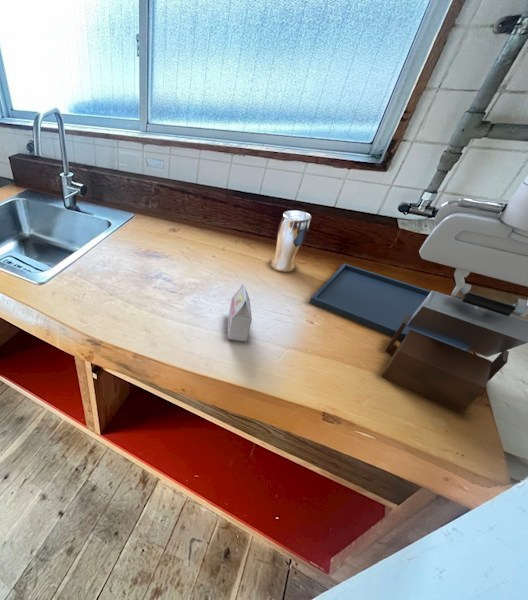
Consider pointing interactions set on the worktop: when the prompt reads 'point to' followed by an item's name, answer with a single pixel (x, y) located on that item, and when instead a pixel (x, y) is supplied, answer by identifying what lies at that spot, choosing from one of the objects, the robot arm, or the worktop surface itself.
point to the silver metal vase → (290, 239)
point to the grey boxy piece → (239, 316)
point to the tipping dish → (471, 322)
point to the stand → (440, 369)
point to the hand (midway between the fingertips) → (486, 304)
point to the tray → (372, 300)
